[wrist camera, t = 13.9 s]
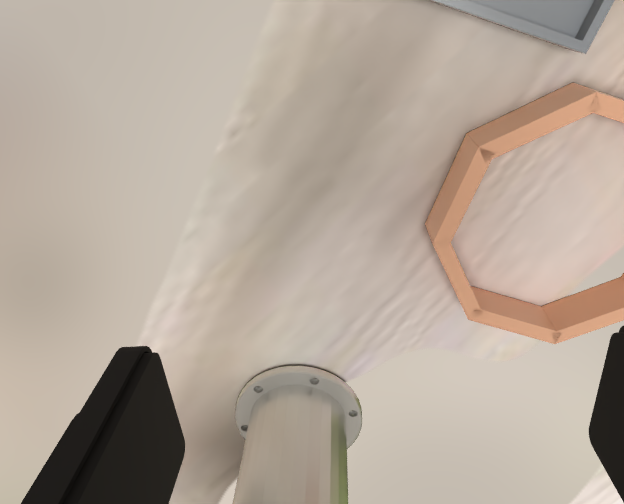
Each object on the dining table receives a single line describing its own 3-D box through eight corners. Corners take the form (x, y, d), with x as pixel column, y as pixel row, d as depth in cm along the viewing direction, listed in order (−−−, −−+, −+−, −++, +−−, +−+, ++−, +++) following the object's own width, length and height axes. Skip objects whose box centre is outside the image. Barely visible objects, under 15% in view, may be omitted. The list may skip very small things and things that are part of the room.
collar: (594, 334, 44) (614, 360, 41) (399, 278, 42) (404, 301, 39) (737, 138, 35) (775, 153, 32) (501, 57, 33) (517, 64, 30)
